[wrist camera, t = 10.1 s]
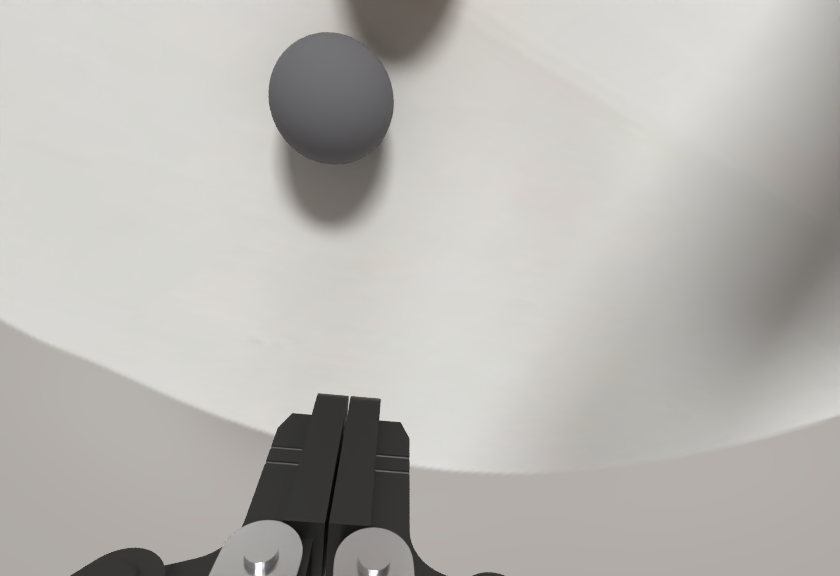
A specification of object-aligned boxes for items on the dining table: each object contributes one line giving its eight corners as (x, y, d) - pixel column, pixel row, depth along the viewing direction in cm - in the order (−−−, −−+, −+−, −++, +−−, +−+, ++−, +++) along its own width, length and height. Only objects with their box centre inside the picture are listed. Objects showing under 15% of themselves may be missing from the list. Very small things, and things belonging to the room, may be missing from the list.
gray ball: (360, 172, 20) (425, 142, 24) (321, 20, 17) (401, 16, 22) (266, 182, 23) (339, 154, 27) (223, 52, 20) (310, 43, 25)
